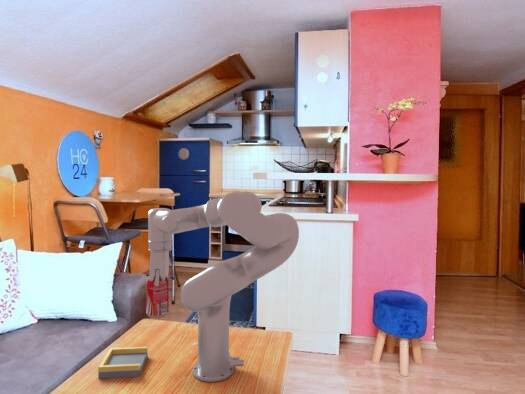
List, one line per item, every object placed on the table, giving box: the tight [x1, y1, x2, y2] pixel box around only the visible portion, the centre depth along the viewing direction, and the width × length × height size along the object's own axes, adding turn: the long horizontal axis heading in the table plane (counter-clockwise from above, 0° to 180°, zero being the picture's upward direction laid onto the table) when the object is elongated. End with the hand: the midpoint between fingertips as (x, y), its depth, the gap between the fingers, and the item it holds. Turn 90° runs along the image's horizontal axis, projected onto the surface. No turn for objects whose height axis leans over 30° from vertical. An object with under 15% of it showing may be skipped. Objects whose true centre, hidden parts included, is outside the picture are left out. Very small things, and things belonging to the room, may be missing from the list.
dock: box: [97, 346, 149, 380], centre depth 118 cm, size 12×12×4 cm
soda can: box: [145, 275, 170, 319], centre depth 123 cm, size 7×7×13 cm
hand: (160, 299), depth 125 cm, fingers closed on soda can, 2 cm apart
